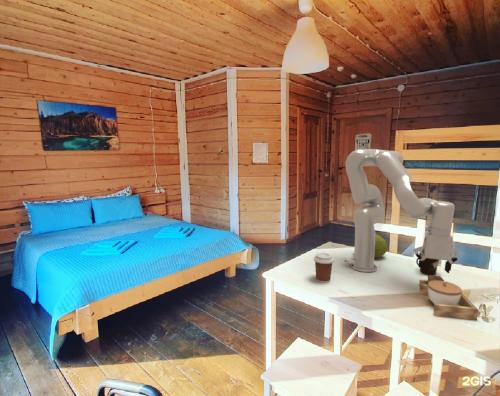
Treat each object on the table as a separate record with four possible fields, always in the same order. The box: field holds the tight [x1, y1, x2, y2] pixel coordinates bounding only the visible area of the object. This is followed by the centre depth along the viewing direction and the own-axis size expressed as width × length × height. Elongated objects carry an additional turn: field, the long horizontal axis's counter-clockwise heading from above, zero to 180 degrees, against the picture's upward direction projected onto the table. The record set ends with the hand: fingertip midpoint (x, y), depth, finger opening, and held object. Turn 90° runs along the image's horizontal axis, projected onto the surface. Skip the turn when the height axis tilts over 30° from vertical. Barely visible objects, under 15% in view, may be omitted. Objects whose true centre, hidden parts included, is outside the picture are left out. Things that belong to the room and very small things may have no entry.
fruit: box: [374, 233, 388, 259], centre depth 163 cm, size 16×14×15 cm
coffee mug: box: [415, 251, 440, 276], centre depth 141 cm, size 12×9×10 cm
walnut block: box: [427, 274, 445, 285], centre depth 122 cm, size 4×4×6 cm
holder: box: [418, 279, 479, 321], centre depth 115 cm, size 13×26×4 cm, turn 166°
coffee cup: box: [313, 252, 335, 284], centre depth 134 cm, size 9×9×12 cm
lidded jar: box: [427, 280, 463, 306], centre depth 111 cm, size 11×11×9 cm
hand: (433, 270), depth 122 cm, fingers open, 9 cm apart
